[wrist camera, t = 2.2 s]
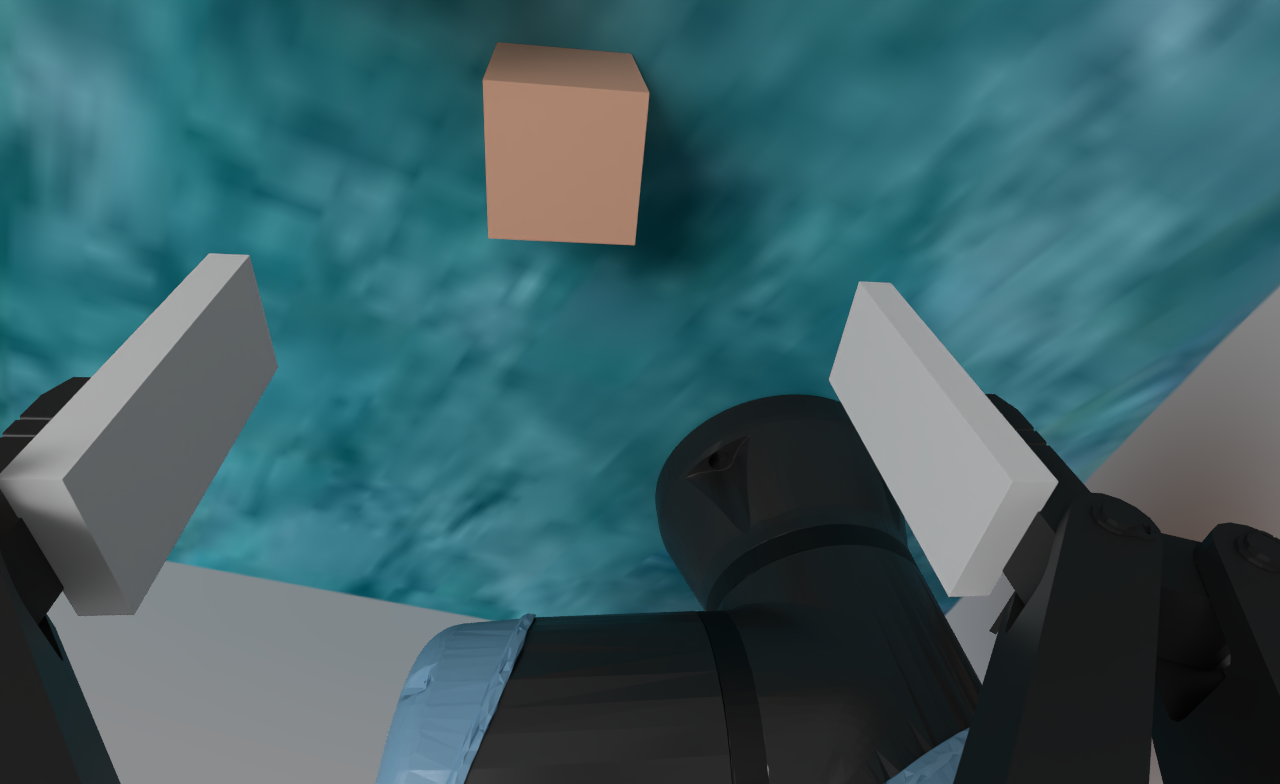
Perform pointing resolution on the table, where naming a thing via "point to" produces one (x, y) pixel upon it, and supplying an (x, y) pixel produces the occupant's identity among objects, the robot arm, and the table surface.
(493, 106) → the terracotta block
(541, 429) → the table surface
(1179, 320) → the table surface
